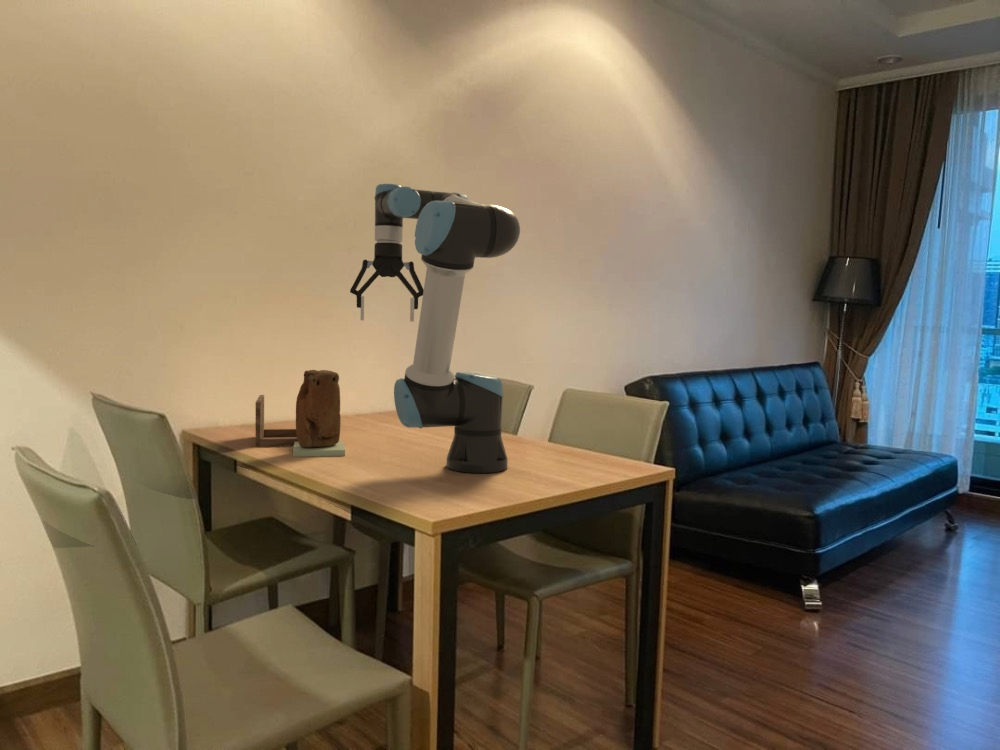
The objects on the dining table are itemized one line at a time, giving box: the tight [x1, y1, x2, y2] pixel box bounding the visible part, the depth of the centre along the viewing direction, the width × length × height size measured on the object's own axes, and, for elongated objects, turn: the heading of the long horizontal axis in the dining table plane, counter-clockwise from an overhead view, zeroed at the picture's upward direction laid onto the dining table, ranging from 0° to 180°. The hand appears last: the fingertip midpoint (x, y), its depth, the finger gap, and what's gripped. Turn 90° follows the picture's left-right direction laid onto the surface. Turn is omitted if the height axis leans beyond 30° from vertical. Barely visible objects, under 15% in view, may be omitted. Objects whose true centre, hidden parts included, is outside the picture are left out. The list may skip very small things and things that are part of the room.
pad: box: [292, 440, 346, 458], centre depth 206 cm, size 13×13×2 cm
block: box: [295, 369, 342, 447], centre depth 205 cm, size 11×8×20 cm
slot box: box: [255, 394, 298, 448], centre depth 219 cm, size 16×17×12 cm
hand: (387, 321), depth 214 cm, fingers open, 13 cm apart
